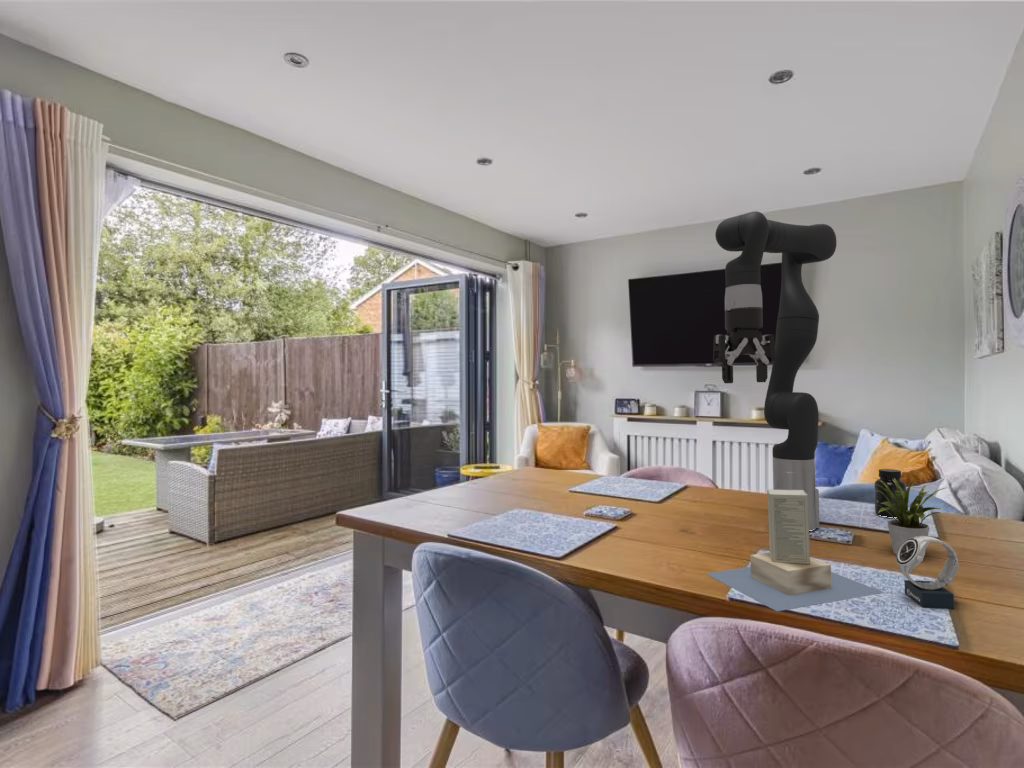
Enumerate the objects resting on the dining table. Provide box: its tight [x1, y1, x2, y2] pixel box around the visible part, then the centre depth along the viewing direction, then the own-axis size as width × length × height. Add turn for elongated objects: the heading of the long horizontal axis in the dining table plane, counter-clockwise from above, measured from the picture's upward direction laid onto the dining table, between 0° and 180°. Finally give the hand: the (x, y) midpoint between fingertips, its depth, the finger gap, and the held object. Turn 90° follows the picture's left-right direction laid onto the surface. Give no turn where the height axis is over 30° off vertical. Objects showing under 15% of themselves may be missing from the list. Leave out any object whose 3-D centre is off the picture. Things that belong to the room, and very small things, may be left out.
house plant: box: [869, 477, 950, 555], centre depth 114 cm, size 14×14×16 cm
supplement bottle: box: [873, 468, 907, 517], centre depth 144 cm, size 7×7×12 cm
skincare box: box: [766, 488, 811, 564], centre depth 97 cm, size 6×4×12 cm
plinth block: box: [749, 552, 832, 595], centre depth 98 cm, size 9×9×4 cm
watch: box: [895, 535, 960, 610], centre depth 88 cm, size 6×8×11 cm
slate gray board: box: [705, 566, 885, 612], centre depth 98 cm, size 22×18×1 cm
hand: (745, 382), depth 119 cm, fingers open, 8 cm apart
